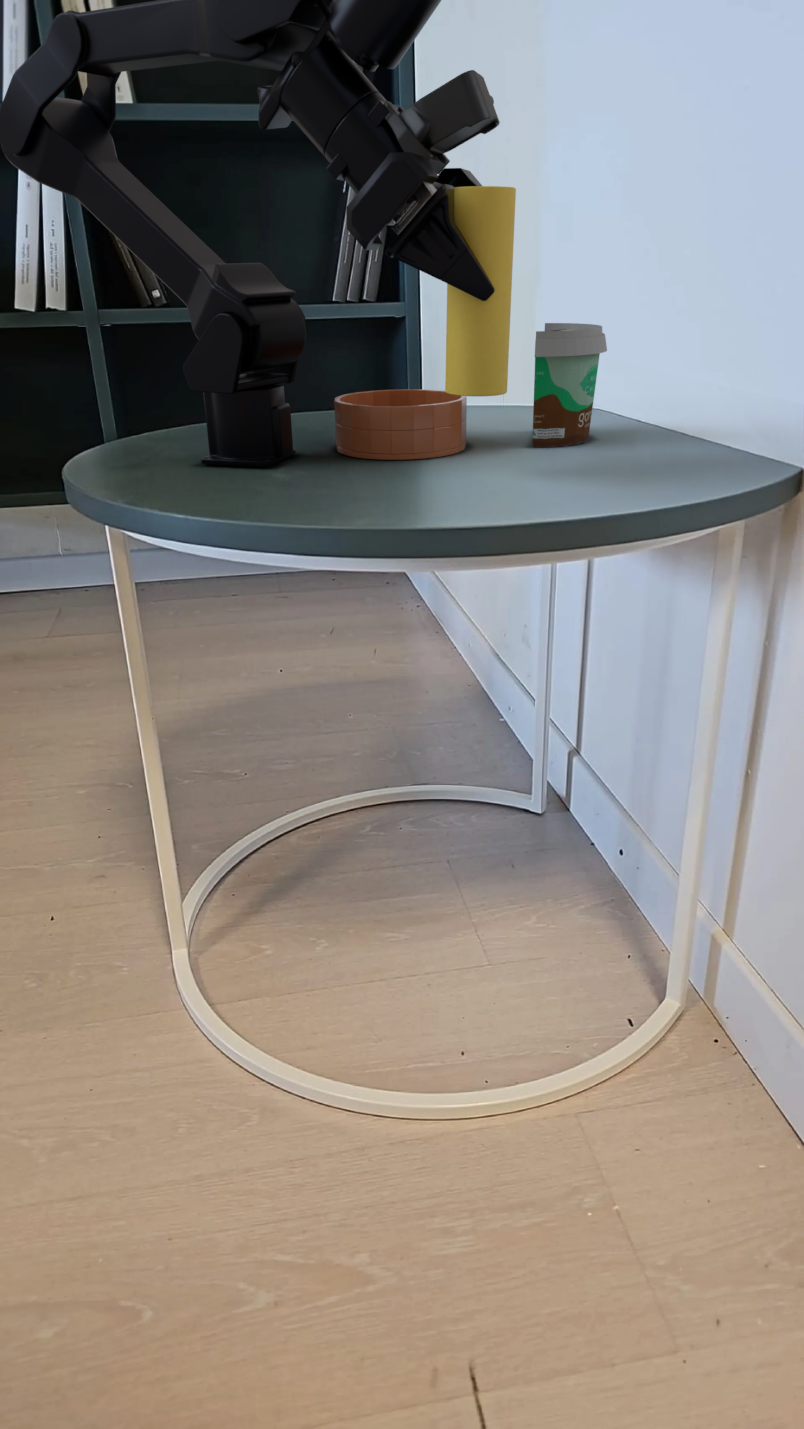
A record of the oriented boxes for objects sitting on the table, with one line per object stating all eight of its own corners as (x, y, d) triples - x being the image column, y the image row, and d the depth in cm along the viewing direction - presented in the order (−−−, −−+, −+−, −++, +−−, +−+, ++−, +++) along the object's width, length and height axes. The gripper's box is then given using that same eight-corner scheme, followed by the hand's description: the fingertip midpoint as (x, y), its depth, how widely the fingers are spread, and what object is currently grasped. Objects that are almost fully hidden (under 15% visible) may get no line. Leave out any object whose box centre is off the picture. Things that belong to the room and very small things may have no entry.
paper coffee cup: (599, 451, 86) (608, 331, 82) (530, 449, 87) (535, 331, 83) (602, 428, 97) (609, 322, 93) (540, 428, 98) (545, 322, 94)
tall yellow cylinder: (448, 396, 73) (452, 186, 67) (442, 388, 77) (446, 189, 71) (511, 396, 73) (520, 186, 67) (502, 388, 77) (510, 189, 71)
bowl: (317, 457, 86) (314, 405, 84) (361, 435, 96) (359, 388, 94) (447, 462, 83) (447, 408, 81) (478, 438, 93) (478, 390, 91)
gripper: (390, -5, 57) (562, 201, 60) (461, 51, 74) (594, 211, 76) (276, 151, 63) (437, 335, 65) (365, 171, 79) (492, 318, 81)
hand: (497, 294), depth 71 cm, fingers closed on tall yellow cylinder, 5 cm apart
